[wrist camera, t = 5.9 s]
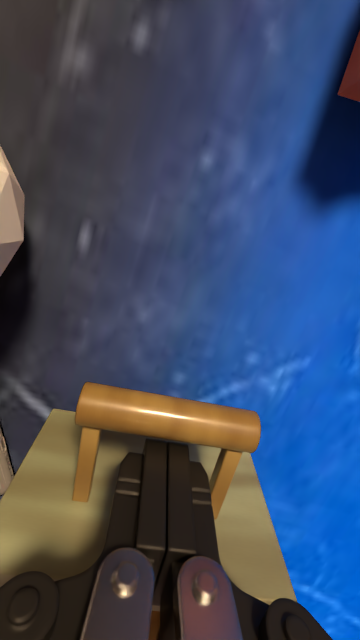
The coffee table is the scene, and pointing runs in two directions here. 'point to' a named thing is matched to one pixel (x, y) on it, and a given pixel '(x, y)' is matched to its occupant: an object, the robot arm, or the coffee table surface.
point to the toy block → (352, 75)
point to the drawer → (101, 477)
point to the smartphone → (4, 466)
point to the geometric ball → (10, 213)
